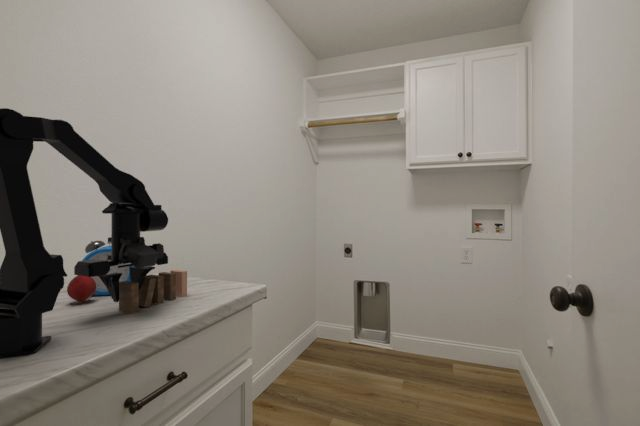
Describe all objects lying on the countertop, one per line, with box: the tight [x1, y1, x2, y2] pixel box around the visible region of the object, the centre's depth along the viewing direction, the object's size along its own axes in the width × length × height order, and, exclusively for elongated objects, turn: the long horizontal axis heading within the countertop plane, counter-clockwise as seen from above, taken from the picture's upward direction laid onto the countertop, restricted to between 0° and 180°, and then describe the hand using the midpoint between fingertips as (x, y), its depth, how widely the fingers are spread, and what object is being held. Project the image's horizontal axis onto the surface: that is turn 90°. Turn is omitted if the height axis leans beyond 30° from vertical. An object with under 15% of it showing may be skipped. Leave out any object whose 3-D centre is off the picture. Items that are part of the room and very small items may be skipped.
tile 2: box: [139, 277, 156, 308], centre depth 76 cm, size 2×5×7 cm, turn 66°
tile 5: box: [169, 269, 188, 298], centre depth 85 cm, size 2×5×7 cm, turn 66°
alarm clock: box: [81, 240, 132, 297], centre depth 87 cm, size 13×6×15 cm, turn 110°
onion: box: [66, 275, 96, 303], centre depth 78 cm, size 6×6×8 cm
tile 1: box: [118, 281, 140, 315], centre depth 72 cm, size 2×5×7 cm, turn 66°
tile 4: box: [158, 271, 177, 302], centre depth 82 cm, size 2×5×7 cm, turn 66°
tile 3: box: [146, 274, 165, 305], centre depth 79 cm, size 2×5×7 cm, turn 66°
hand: (125, 299), depth 72 cm, fingers open, 4 cm apart
